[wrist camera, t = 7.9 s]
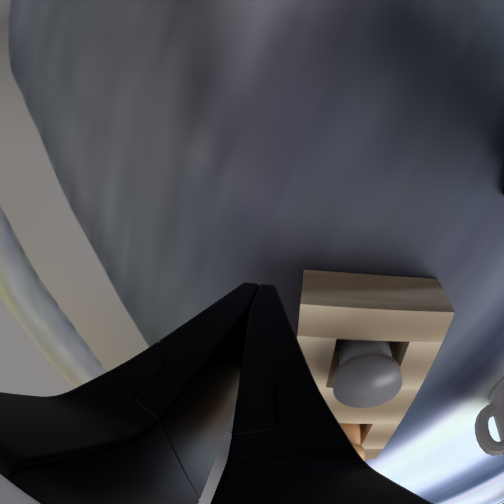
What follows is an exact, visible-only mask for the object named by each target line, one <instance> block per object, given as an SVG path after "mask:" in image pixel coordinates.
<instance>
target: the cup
mask: <svg viewBox="0 0 504 504" xmlns="http://www.w3.org/2000/svg"><path fill="white" fill-rule="evenodd" d="M489 403H490V404H489V405H487V406H486V407H485V408H483V409H482V410H481V411H480V413H479V414H478V416H477V418H476V422H475V434H476V438H477V441H478V443H479V445H480V447H481V448H482V449H483V451H484V452H485V453H487V454H489V455H492V456H495V455H502V454H504V378H503V379H502V380H501V381H500V382H499V383H498V384H497V385H496V386H495V388H494V389H493V391H492V393H491V395H490V400H489ZM492 416H494V419H495V423H496V426H497V430H498V433H499V437H500V440H501V441H500V442H496V441H494V440H493V439H492V437H491V435H490V433H489V429H488V420H489V418H490V417H492Z"/></svg>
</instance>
